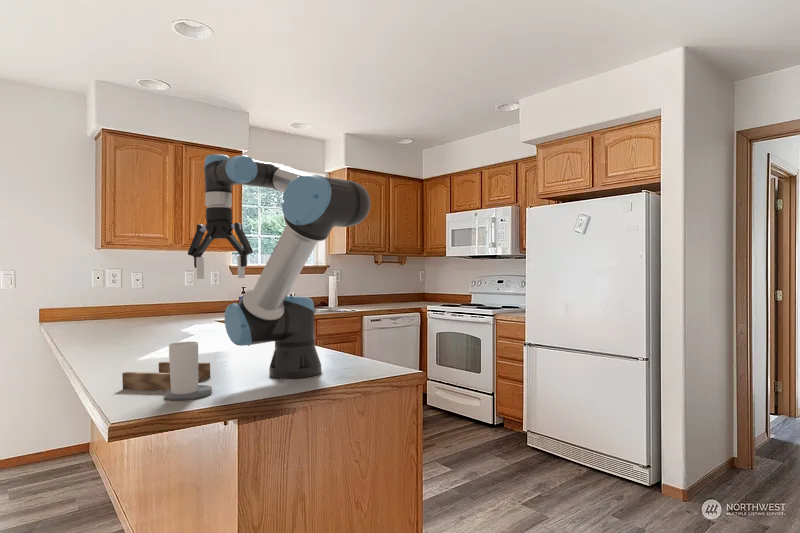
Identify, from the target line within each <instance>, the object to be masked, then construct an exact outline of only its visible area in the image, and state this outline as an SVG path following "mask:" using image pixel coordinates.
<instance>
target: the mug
mask: <svg viewBox="0 0 800 533" xmlns="http://www.w3.org/2000/svg"><path fill="white" fill-rule="evenodd" d="M168 357H169V358H168V359H169V360H168V362H170V382H171V393H172V394H176V395H181V394H189V393H194V392H196V391H198V385H199V382H198V362H199V342H197V341H178V342H177V341H176V342H173V343H169V344H168Z"/></svg>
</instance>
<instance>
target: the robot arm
mask: <svg viewBox="0 0 800 533" xmlns="http://www.w3.org/2000/svg"><path fill="white" fill-rule="evenodd" d="M203 169H204V171H203V172H204V192H205V193H204V195H205V199H204V200H205V201H204V204H205V206H206V208H205V220H206V224H200V223H199V224H197V225H196V232H195V234H194V236H193V239H192V242H191V243H190V246H189V249H188V251H187V255H188V256H191V257H193V264H194V265H193V266H194V269H196V280H203V279H205V261H204V258H205V257H203V254H204V253H205V252H206V251H207V249H208V247H209V246H210V245H211V243H212V242H213V241H214V240H221V239H222V240H223V239H224V240H225V239H226V240H227V241H228V242H229V244H230V245H231V246H232V247H233V248H234V249H235V250H236V252H237V253H238V255H237V257H236V260H237V279H245V277H246V276H245V275H246V273H245V272H246V269H245V268H246V267H247V266H248V255H251V254H253V252H254V250H253V248H252V246H251V244H250V243H249V242H250V241H249V240H248V237H247V235H246V233H245V232H244V228H243V227H244V226H243V224H242V223H241V222H234V223H233V209H232V207H233V197H232V196H233V194H232V193H233V190H232V188H233V187H232V186H236V185H241V186H243V185H244V186H251V187H252V186H253V187H259V188H261V187H262V188H266V189H267V188H268V189H271V190H272V189H273V190H276V191H279V192H281V193H283V195H282V201H283V202H282V203H281V210H282V214H283V215H284V216H283V219H284V220H283V221H284V222H285V225H286V226H285V227H284V230H283V231H282V233H281V235H280V237H279V239H278V241H277V243H276V244H275V246H274V249H273V250H272V253H271V255H270V256H269V258H268V261H267V262H266V264H265V266H264V268H263V270H262V271H261V274H260V276H259V278H258V279H257V281H256V283H255V285H254V287H253V288H251V289H248V290H246V291H245V293H244V294H243V296H242V298H241V300H240V301H239V302H238V303H237V302H233V303H230V304H228V306H227V307H226V309H225V311H224V325H225V331H226V334H227V335H228V338H229V339H230V341H231V342H232V343H233V344H234V345H236V346H241V347H242V346H243V347H244V346H249V347H250V346H252V345H259V344H266V343H271V342H274V350H273V354H272V358H271V361H270V364H269V372H268V373H269V376H270V377H272V378H275V379H302V378H308V377H314V376H317V375H319V374H321V373H322V364H321V363H322V362H321V360H320V358H319V355H318V352H317V349H316V344H315V343H316V340H315V338H316V335H315V312H316V311H315V305H314V304H315V303H314V300H313V299H312V298H311V297H310V296H300V295H299V296H298V295H296V296H295V295H289V293H290V291H291V289H292V288H293V286H294V284H295V282H296V281H297V279H298V277H299V275H300V273H301V272H302V270H303V268H304V266H305V265H306V263H307V262H308V259H309V257H310V256H311V254H312V252H313V251H314V249H315V247H316V245H317V244H318V242H323V241H326V239H327V238H328V237H329V235H330V233H331V232H332V230H333V228H334V227H338V228H339V227H341V228H345V227H346V228H349V227H354V226H358V225H359V224H361V223H362V222H363V221H364V220H365V219H366V218H367V217H368V215H369V213H370V211H371V204H372V203H371V202H372V201H371V197H370V194H369V193H368V190H367V189H366V188H365V187H364V186H363V185H362V184H360V183H359V182H355V181H353V180H346V179H339V178H334V177H326V176H322V175H318V174H310V173H307V172H304V171H300V170H297V169H294V168H292V167H291V166H289V165H285V164H282V163H272V162H265V161H260V160H255V159H253V158H251V157H250V156H248V155H235V156H233V157H230V156H228V155H226V154H217V153H216V154H208V155H206V156H205V158H204V167H203ZM232 231H235V234H236V236H237V238H238V239H237V238H236V237H235V235H234V234H233V232H232ZM205 232H207V233H206V234H205ZM204 234H205V236H204ZM238 240H239V241H238Z"/></svg>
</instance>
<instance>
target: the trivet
mask: <svg viewBox="0 0 800 533" xmlns="http://www.w3.org/2000/svg"><path fill="white" fill-rule="evenodd" d="M211 393H212V394H213V388H212V386H211V385H207V384H198V391H196V392H194V393H189V394H181V395H176V394H172V393H171V389H169V390H167V391H164V399H165V400H167V401H172V402H173V401H178V402H180V401H190V400H197V399H201V398H205V397H208V396H210V395H212V394H211Z"/></svg>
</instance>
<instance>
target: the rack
mask: <svg viewBox="0 0 800 533" xmlns="http://www.w3.org/2000/svg"><path fill="white" fill-rule="evenodd" d="M121 374H122V390H123V389H131V391H134V390H135V391H155V390H161V391H162V392H163V391H164V392H166V391H167V390H169V389H171V382H170V362H169V361H160V362H158V372H148V371H147V372H145V371H125V372H122V373H121ZM210 378H211V362H199V361H198V383H200V382H203V381H206V380H208V379H210ZM161 391H160V392H161Z"/></svg>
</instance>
